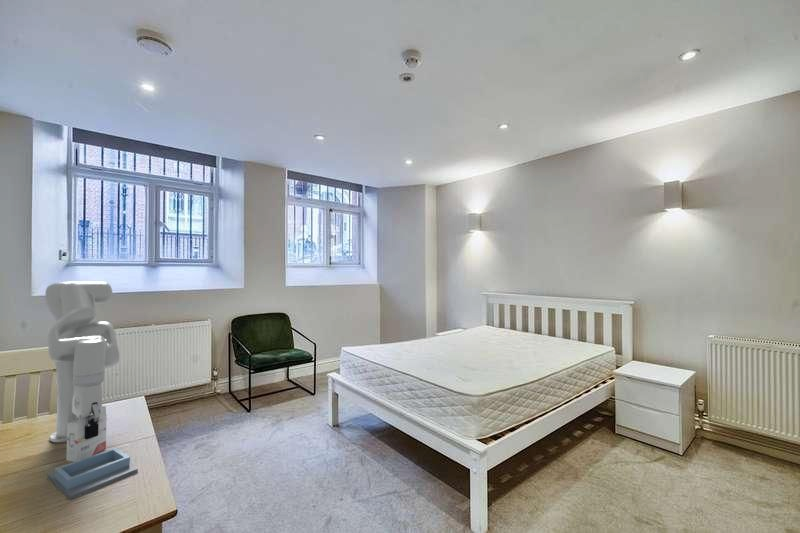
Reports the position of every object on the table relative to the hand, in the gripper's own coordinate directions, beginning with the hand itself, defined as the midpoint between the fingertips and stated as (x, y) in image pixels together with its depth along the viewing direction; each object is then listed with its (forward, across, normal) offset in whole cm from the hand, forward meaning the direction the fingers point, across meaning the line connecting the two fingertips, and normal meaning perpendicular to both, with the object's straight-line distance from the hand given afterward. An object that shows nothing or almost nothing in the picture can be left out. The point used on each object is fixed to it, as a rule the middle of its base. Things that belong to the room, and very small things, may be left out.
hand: (87, 434), depth 112 cm
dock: (+7, +15, -3) cm, 17 cm away
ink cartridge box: (+7, 0, 0) cm, 7 cm away
